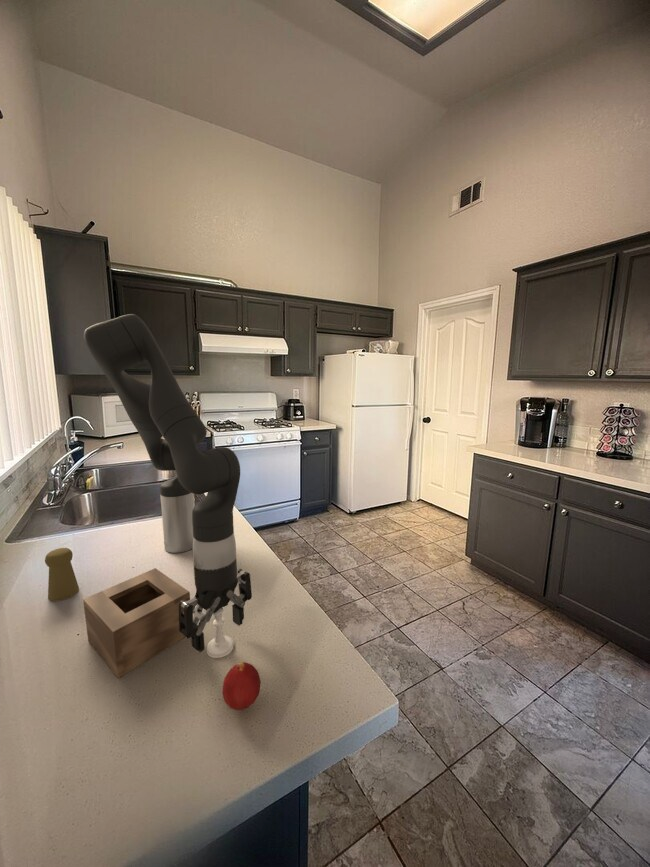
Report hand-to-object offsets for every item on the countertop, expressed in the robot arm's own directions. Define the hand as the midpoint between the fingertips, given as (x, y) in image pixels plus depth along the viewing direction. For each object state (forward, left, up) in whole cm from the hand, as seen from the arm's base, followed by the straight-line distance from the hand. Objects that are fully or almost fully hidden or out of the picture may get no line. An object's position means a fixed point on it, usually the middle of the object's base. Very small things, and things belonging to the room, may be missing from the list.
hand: (219, 635), depth 66 cm
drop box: (+8, -15, -3) cm, 17 cm away
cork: (+13, -44, -3) cm, 46 cm away
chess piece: (0, 0, -3) cm, 3 cm away
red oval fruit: (+5, +13, -3) cm, 14 cm away
